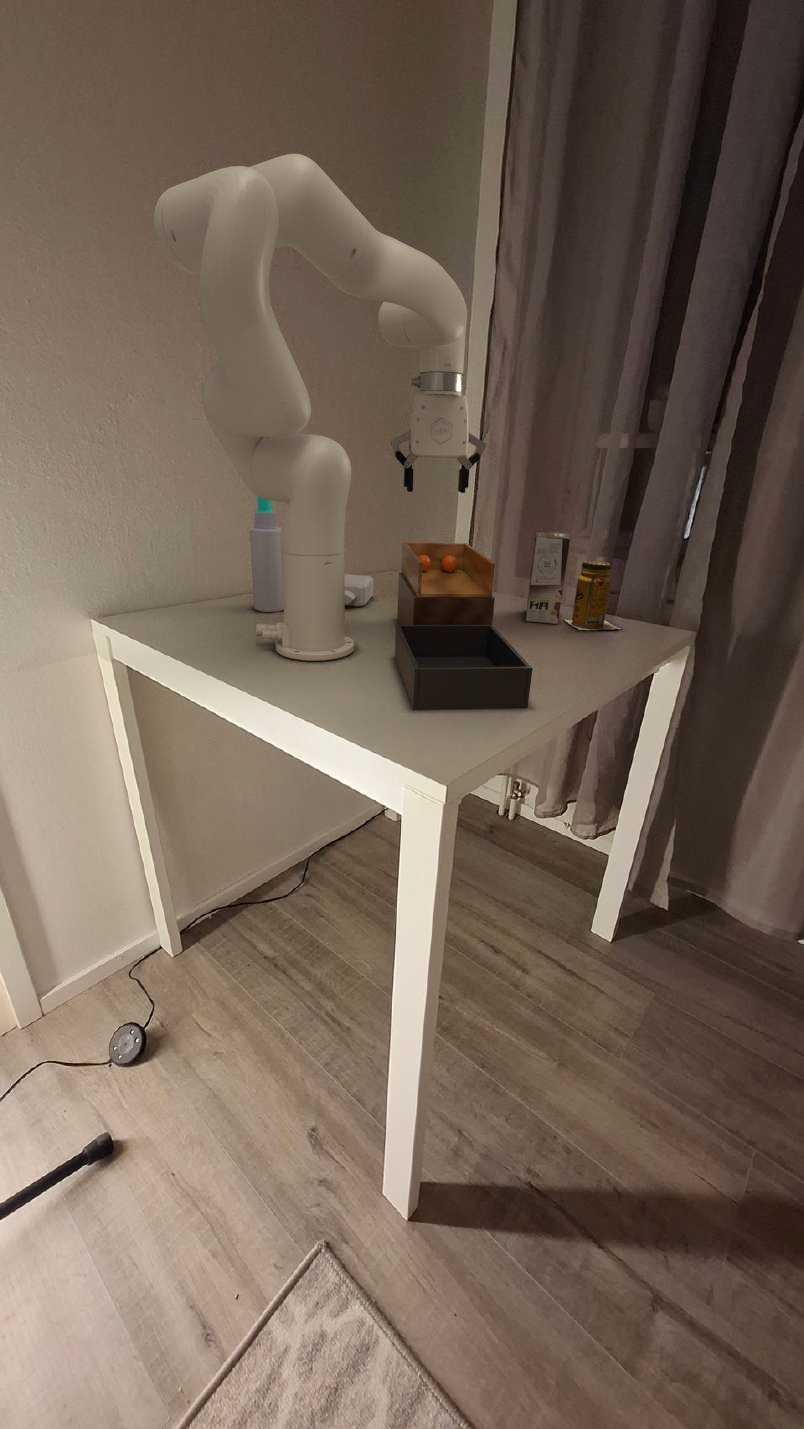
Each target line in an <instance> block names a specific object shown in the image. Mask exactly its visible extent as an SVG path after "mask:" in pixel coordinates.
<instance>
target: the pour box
mask: <svg viewBox="0 0 804 1429" xmlns="http://www.w3.org/2000/svg"><path fill="white" fill-rule="evenodd" d="M401 547H402V549H401V573H402V574H403V575H404V577H405V578H406V580H407V581H408V583H409V585H410V586H411V588H412V589H413V591H414V593H415V594H416V596H417V597H485V598H492V596H493V589H494V580H495V579H494V578H495V568H496V563H495V562H494V561H493V560H491V559H490V558H488V557H487V556H485V555H484V554H482V553H481V552H480V551H478V550H477V549H475V548H474V547H472V545H470V544H468V543H465V542H464V543H463V542H462V543H459V542H457V543H456V542H410V541H409V542H406V541H405V542H402V546H401ZM420 555H426V556H428V557H429V559H430V561H431V566H430V568H429V569H428V570H427V571H425V572H422V566H423V562H422V561H421V560H420V559H419V558H418V556H420ZM448 555H452V556H454V557H455V558H456V559H457V561H458V566H457V568H456V570H454V571H453V572H446V571H445V570H444V569H443V568H442V564H441V563H442V560H443V558H444V557H446V556H448Z"/></svg>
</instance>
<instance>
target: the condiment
mask: <svg viewBox="0 0 804 1429" xmlns="http://www.w3.org/2000/svg"><path fill="white" fill-rule="evenodd" d="M611 570H612V564H611V563H610V562H607V561H601V560H585V561H583V562H582V564H581V570H580V574H579V576H578V578H577V583H576V590H575V597H574V603H573V609H572V617H571V619H564V621H565V622H566V623H567V624H569V625H570V626H572V627H573V628H576V629H577V630H579V631H602V630H621V628H620V627H618V626H616V625H614V624H613V623H610V622H609V621H607V620H606V614H607V608H608V603H609V595H610V590H611V584H612V579H611V577H610V576H611Z"/></svg>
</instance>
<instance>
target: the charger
mask: <svg viewBox="0 0 804 1429" xmlns="http://www.w3.org/2000/svg"><path fill="white" fill-rule="evenodd" d="M373 596H374V578H373V577H372V576H371V575H365V574H362V575H361V574H349V573H348V574H347V573H345V607H351V608H353V607H355V608H362V607H365V605H366V604H367V603H368V602H369V601H370V599H371V598H372V597H373Z"/></svg>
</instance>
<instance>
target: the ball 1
mask: <svg viewBox="0 0 804 1429" xmlns="http://www.w3.org/2000/svg"><path fill="white" fill-rule="evenodd" d="M418 558H419V559H420V560H421V561H422V562H423V566H422V572H425V571H427V570H428V569H429V568H430V566H431V561H430V559H429V557H428V556H426V555H420V556H418Z"/></svg>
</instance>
